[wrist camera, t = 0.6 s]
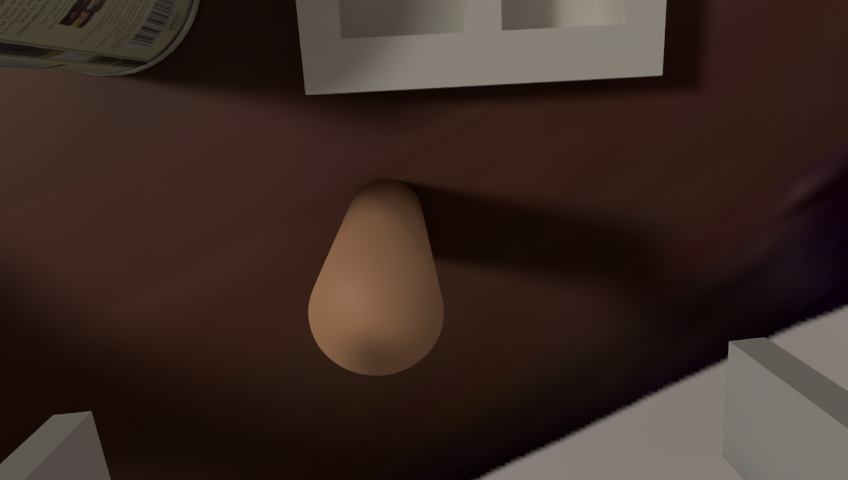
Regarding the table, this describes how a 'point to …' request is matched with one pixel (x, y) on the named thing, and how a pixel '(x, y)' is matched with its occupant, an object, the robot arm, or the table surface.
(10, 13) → the coffee can
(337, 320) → the pin
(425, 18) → the bore block
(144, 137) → the table surface
